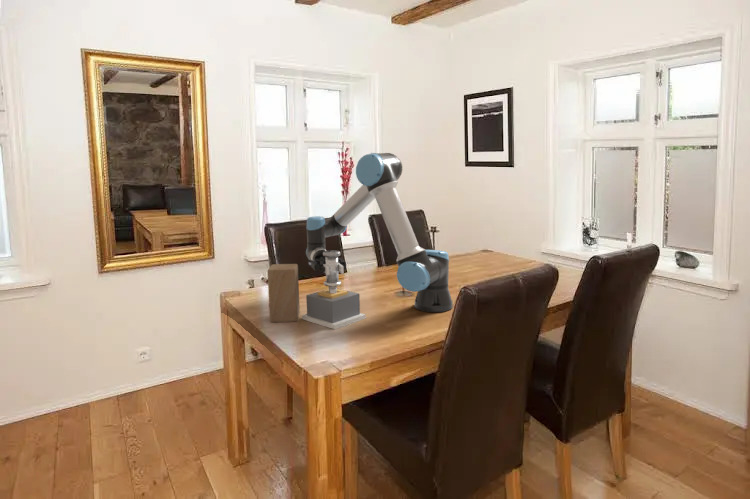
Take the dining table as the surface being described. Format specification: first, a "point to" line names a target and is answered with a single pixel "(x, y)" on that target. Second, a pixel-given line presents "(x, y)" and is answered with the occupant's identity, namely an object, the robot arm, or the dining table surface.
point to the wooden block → (283, 292)
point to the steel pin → (332, 270)
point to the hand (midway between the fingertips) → (335, 270)
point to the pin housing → (333, 308)
